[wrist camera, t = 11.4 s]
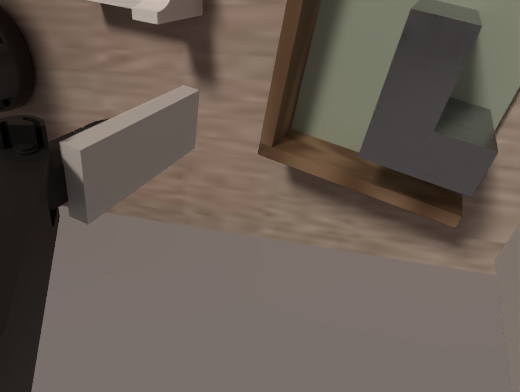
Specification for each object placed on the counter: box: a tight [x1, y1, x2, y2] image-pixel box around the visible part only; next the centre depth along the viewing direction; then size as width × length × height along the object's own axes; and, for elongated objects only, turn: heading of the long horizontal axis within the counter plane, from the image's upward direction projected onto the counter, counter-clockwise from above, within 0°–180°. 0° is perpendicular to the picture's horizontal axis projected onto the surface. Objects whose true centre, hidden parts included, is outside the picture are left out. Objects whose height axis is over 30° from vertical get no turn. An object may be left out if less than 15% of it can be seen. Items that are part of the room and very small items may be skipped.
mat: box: [291, 0, 520, 152], centre depth 33 cm, size 18×20×1 cm
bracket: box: [358, 0, 498, 197], centre depth 28 cm, size 10×8×9 cm
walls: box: [258, 0, 462, 228], centre depth 31 cm, size 18×20×6 cm
